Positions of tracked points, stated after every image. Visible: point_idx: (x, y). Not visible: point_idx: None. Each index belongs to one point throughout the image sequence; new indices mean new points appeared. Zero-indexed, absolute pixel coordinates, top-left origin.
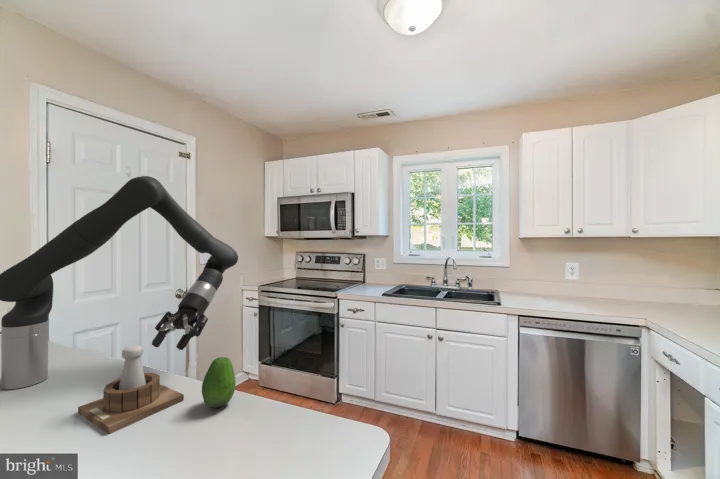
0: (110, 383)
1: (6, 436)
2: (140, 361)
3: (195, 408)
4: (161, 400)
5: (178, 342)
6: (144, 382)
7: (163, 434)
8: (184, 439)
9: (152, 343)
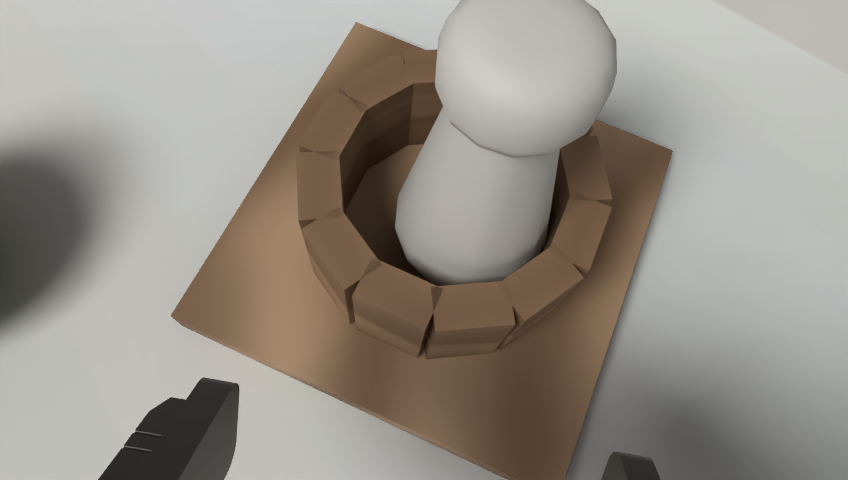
0: (592, 154)
1: (747, 19)
2: (450, 144)
3: (62, 247)
4: (270, 236)
5: (217, 414)
6: (407, 227)
7: (116, 51)
8: (2, 27)
9: (638, 456)
